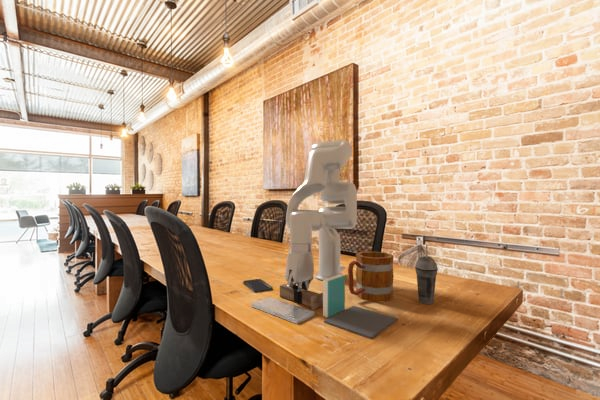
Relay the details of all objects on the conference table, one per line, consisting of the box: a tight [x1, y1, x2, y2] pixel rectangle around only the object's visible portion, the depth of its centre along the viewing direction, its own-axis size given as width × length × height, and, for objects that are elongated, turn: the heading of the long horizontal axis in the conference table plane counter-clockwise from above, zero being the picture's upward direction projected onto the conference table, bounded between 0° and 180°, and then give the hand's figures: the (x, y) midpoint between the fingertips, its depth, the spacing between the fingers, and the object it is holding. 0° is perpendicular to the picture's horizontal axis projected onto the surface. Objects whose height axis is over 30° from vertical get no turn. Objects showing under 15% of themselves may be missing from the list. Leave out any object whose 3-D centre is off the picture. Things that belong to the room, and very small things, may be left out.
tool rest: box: [251, 296, 316, 325], centre depth 94 cm, size 8×20×1 cm, turn 48°
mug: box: [347, 251, 395, 303], centre depth 107 cm, size 20×14×15 cm
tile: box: [322, 273, 346, 318], centre depth 93 cm, size 9×2×11 cm, turn 138°
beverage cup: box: [414, 243, 439, 305], centre depth 103 cm, size 7×7×20 cm
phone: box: [242, 278, 274, 294], centre depth 120 cm, size 8×1×15 cm
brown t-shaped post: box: [279, 283, 323, 311], centre depth 103 cm, size 6×17×4 cm, turn 48°
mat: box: [323, 305, 399, 340], centre depth 87 cm, size 16×15×1 cm
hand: (300, 300), depth 102 cm, fingers closed on brown t-shaped post, 2 cm apart
